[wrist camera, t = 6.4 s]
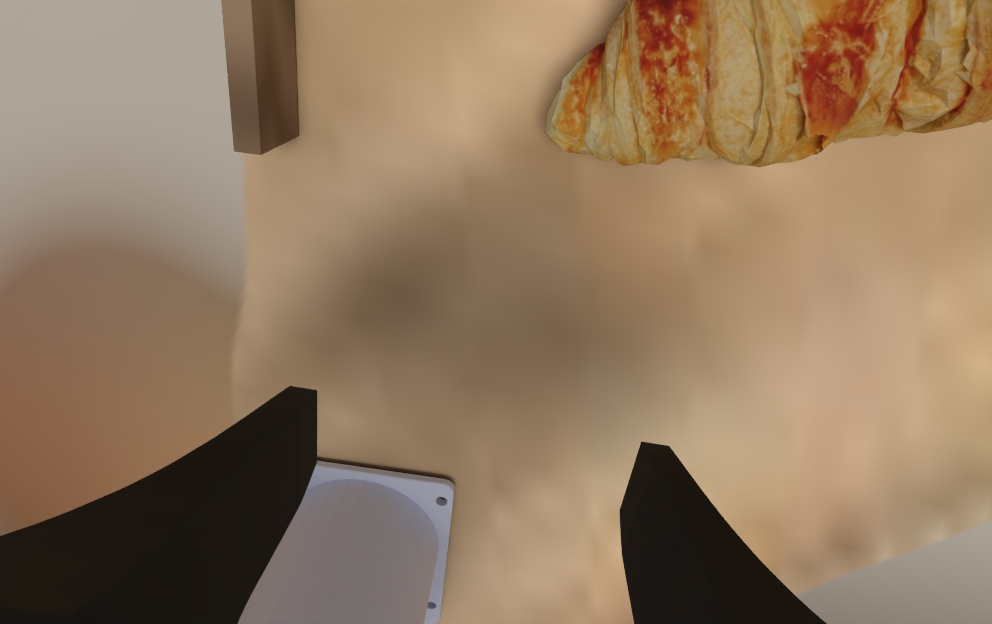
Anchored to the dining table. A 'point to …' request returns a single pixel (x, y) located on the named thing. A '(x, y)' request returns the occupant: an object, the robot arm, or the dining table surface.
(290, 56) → the frame
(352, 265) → the dining table surface
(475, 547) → the dining table surface
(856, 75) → the croissant
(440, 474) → the dining table surface
